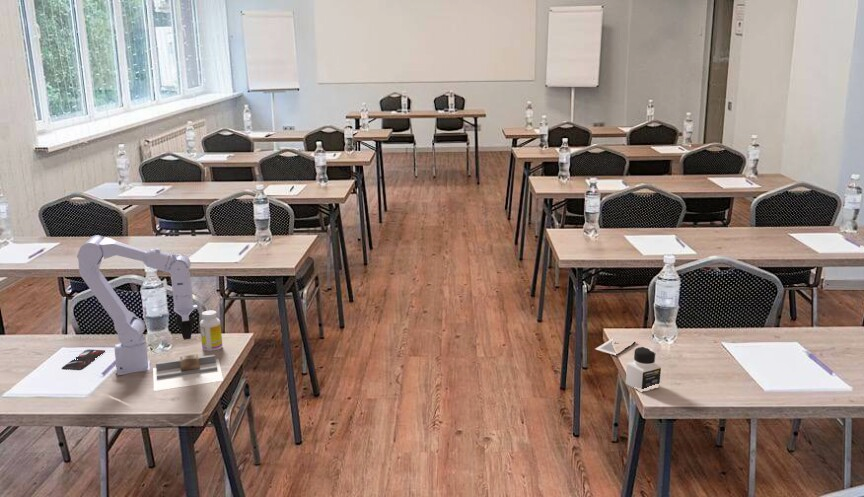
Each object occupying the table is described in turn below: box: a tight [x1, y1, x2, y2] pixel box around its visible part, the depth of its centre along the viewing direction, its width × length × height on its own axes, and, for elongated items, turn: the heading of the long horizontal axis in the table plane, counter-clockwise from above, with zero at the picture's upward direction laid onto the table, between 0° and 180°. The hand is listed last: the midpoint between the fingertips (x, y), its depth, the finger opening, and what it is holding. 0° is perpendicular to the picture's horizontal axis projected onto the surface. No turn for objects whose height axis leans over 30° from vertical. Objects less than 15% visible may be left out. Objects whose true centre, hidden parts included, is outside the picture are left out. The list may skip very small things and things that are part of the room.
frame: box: [179, 353, 200, 371], centre depth 235 cm, size 6×4×4 cm
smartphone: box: [61, 349, 106, 371], centre depth 244 cm, size 7×1×15 cm
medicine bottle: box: [625, 346, 662, 389], centre depth 224 cm, size 7×7×12 cm
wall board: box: [152, 354, 224, 392], centre depth 232 cm, size 20×17×4 cm
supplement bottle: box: [199, 309, 223, 351], centre depth 251 cm, size 7×7×13 cm
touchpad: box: [595, 337, 619, 356], centre depth 253 cm, size 8×15×2 cm, turn 139°
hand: (186, 334), depth 238 cm, fingers open, 7 cm apart
